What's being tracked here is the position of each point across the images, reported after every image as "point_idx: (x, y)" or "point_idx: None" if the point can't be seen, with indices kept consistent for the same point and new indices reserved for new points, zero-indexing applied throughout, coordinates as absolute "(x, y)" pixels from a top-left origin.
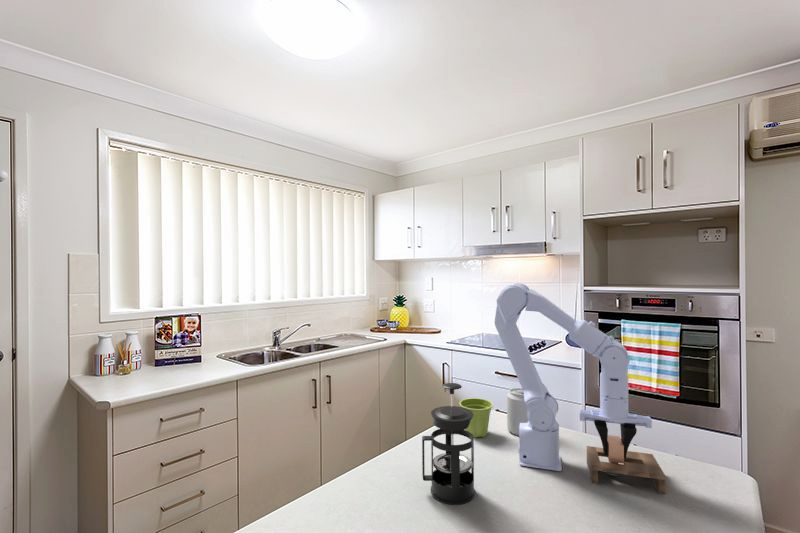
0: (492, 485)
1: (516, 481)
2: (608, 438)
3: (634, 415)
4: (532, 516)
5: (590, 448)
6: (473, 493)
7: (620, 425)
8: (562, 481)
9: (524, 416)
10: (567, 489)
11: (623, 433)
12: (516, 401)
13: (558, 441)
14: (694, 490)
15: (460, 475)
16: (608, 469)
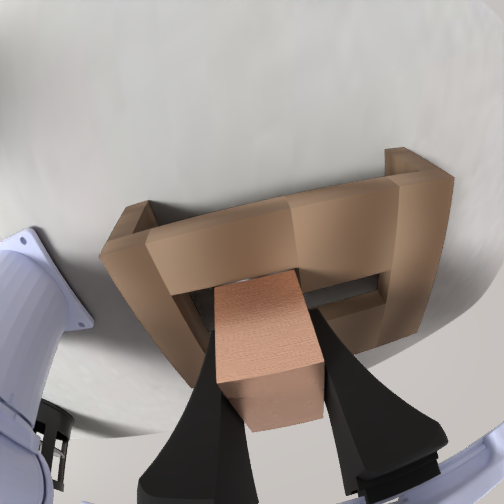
0: (55, 392)
1: (65, 378)
2: (246, 407)
3: (466, 500)
4: (148, 425)
5: (128, 276)
6: (65, 416)
7: (356, 451)
8: (125, 355)
9: None
10: (152, 374)
11: (341, 456)
12: None
13: (36, 366)
14: (466, 227)
15: None
16: None
